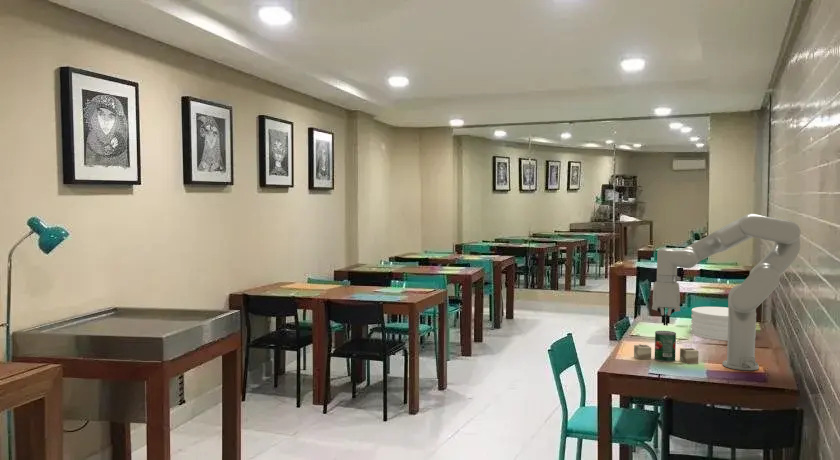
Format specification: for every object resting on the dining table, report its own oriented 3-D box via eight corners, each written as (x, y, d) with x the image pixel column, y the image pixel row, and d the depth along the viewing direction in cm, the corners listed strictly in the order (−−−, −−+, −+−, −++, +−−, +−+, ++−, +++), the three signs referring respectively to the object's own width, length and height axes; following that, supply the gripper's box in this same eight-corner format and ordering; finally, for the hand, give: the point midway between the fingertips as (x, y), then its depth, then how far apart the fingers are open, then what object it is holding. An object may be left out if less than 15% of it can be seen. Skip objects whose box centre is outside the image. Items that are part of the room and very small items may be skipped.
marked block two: (651, 359, 262) (651, 347, 262) (639, 360, 262) (639, 347, 262) (645, 356, 267) (645, 344, 267) (633, 357, 267) (634, 344, 267)
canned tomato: (650, 358, 265) (650, 331, 264) (665, 356, 267) (666, 330, 267) (663, 362, 257) (664, 335, 257) (679, 361, 260) (680, 333, 259)
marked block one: (698, 363, 257) (698, 350, 257) (686, 363, 256) (686, 350, 256) (691, 360, 262) (692, 347, 262) (679, 360, 261) (680, 347, 261)
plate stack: (736, 344, 293) (736, 318, 293) (679, 333, 316) (679, 309, 315) (766, 336, 310) (767, 312, 309) (710, 327, 332) (711, 304, 332)
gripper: (686, 279, 262) (685, 324, 263) (646, 277, 267) (645, 322, 268) (687, 281, 255) (686, 328, 256) (646, 279, 260) (645, 325, 261)
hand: (665, 324), depth 262 cm, fingers closed
